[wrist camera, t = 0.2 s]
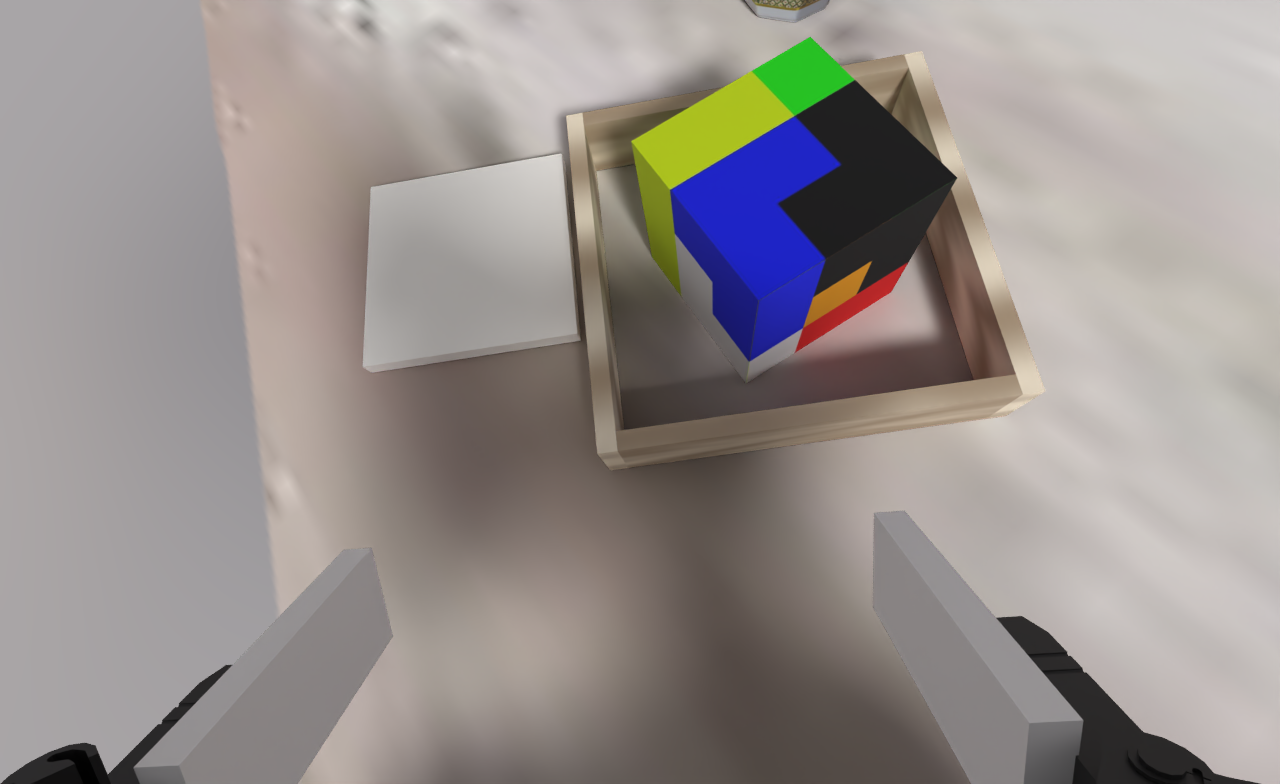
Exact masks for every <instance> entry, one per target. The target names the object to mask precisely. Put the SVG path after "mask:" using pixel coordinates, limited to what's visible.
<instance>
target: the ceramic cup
mask: <svg viewBox="0 0 1280 784" xmlns="http://www.w3.org/2000/svg"><path fill="white" fill-rule="evenodd" d="M745 1H746V3H747V4H748V5H749V6H750V8H751V9H752V10H753V11H754V13H755V14H756V15H757V16H758V17H761V18H768V19H774V20H781V21H787V22H797V21H800V20H802V19H804V18H806V17H808V16H810V15H812V14H814V13H817V12H819V11H821V10H823V9H825V7H826V6H827V4H828V3H829V0H745Z"/></svg>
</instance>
